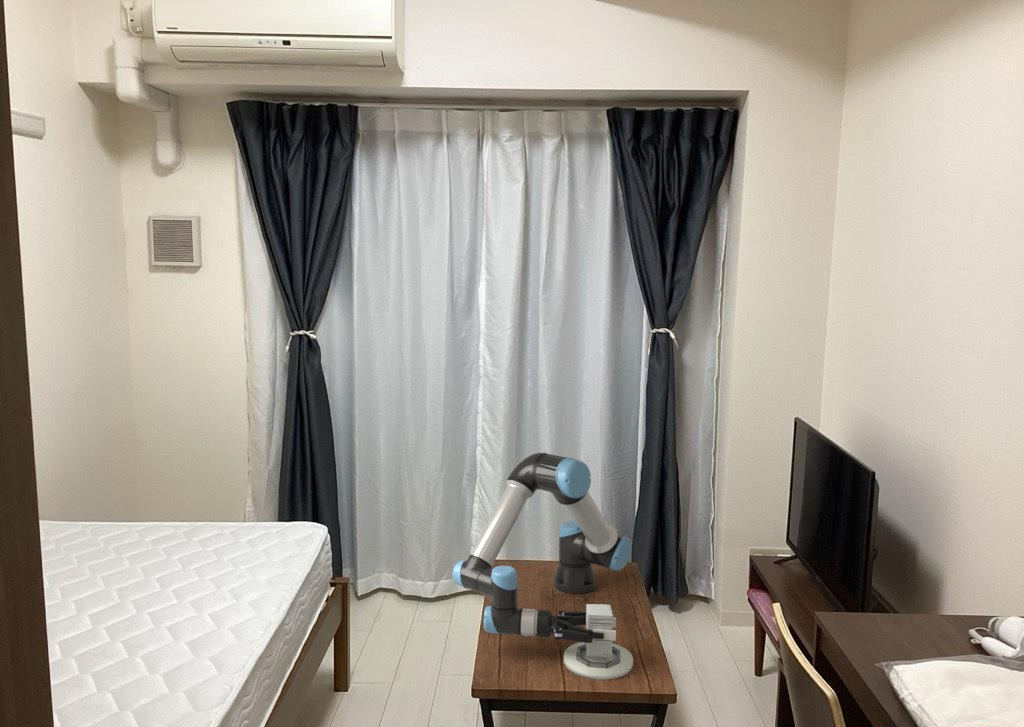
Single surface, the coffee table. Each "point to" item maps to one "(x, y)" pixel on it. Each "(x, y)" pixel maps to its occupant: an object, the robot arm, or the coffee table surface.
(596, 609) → the supplement box
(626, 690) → the coffee table surface
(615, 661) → the seat ring
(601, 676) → the plate
